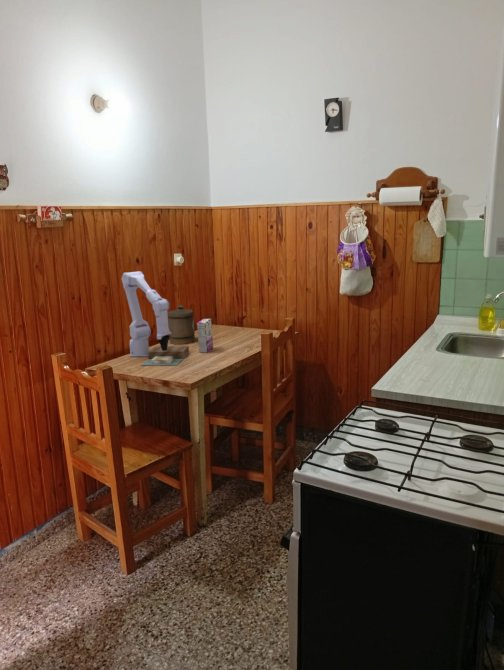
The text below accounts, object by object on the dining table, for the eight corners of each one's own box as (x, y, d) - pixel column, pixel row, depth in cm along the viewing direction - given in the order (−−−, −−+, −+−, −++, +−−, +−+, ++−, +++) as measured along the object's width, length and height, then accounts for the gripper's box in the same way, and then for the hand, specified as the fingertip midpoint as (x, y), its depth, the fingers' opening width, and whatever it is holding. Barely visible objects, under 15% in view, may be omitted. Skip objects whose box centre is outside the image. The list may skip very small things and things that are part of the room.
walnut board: (149, 359, 246) (148, 352, 245) (156, 353, 258) (155, 346, 257) (183, 359, 244) (182, 351, 243) (189, 353, 255) (188, 345, 255)
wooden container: (200, 340, 284) (197, 303, 280) (180, 345, 274) (178, 307, 269) (184, 337, 294) (181, 302, 290) (164, 342, 284) (161, 305, 279)
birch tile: (155, 356, 242) (155, 360, 242) (151, 359, 236) (151, 363, 237) (172, 356, 241) (173, 360, 241) (169, 359, 235) (169, 363, 235)
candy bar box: (204, 347, 266) (202, 318, 263) (213, 347, 265) (211, 318, 262) (198, 352, 255) (196, 322, 252) (207, 353, 254) (205, 322, 251)
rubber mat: (141, 365, 235) (141, 365, 235) (148, 359, 246) (148, 359, 246) (177, 365, 233) (177, 364, 233) (183, 359, 243) (182, 358, 243)
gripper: (165, 326, 232) (168, 353, 235) (174, 321, 247) (176, 346, 249) (151, 326, 233) (154, 353, 236) (160, 321, 247) (163, 346, 250)
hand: (164, 350), depth 243 cm, fingers closed
